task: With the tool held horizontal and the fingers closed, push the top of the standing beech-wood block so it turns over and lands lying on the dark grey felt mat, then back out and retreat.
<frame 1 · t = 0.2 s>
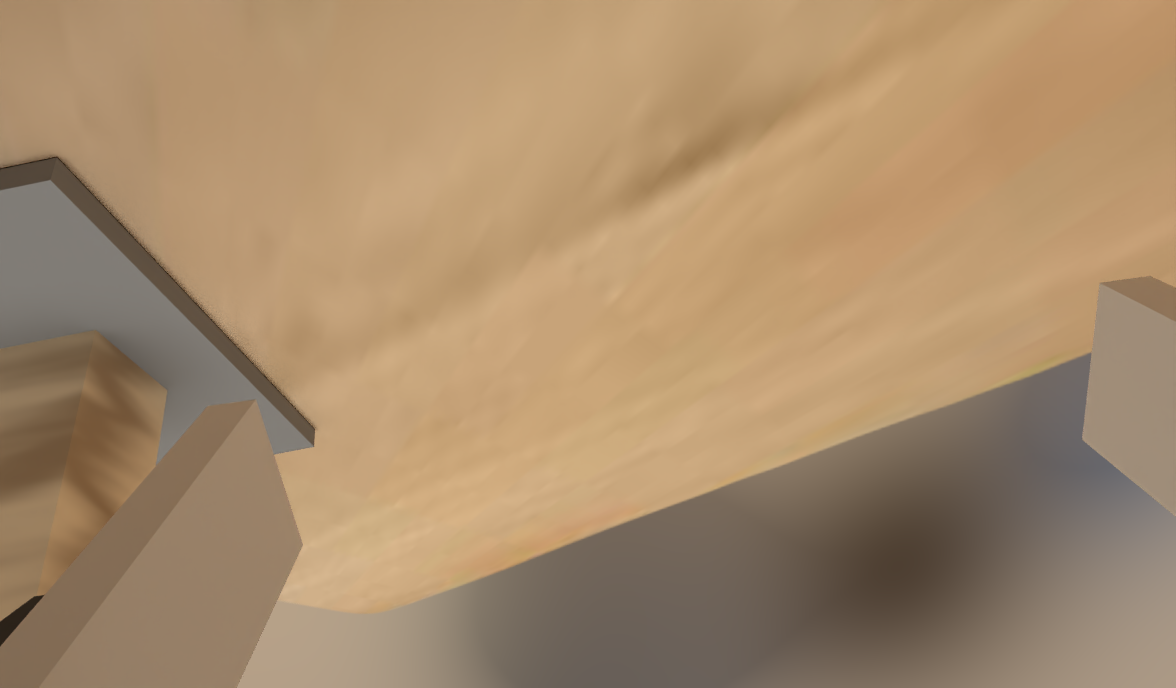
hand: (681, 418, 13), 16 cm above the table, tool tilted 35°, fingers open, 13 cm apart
beech block: (76, 373, 34), point 1 cm above the table, touching felt mat
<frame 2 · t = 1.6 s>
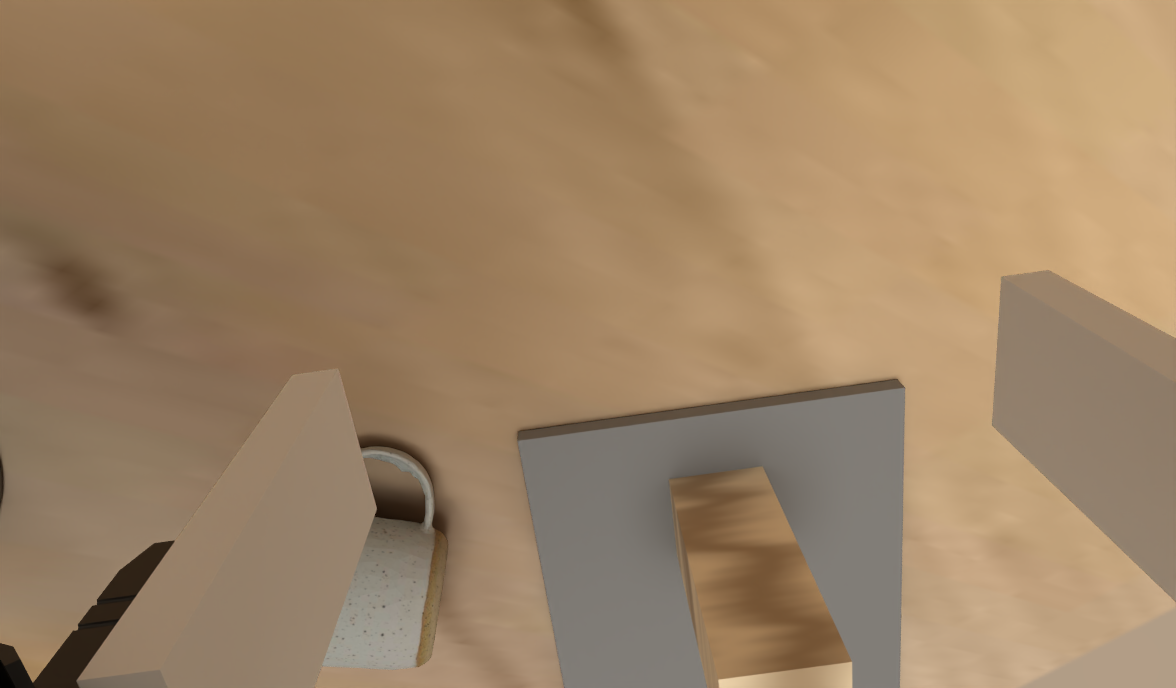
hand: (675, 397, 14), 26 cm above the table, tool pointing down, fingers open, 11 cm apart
felt mat: (721, 575, 47), on the table
ceramic mug: (373, 522, 45), on the table
beech block: (718, 512, 44), point 1 cm above the table, touching felt mat
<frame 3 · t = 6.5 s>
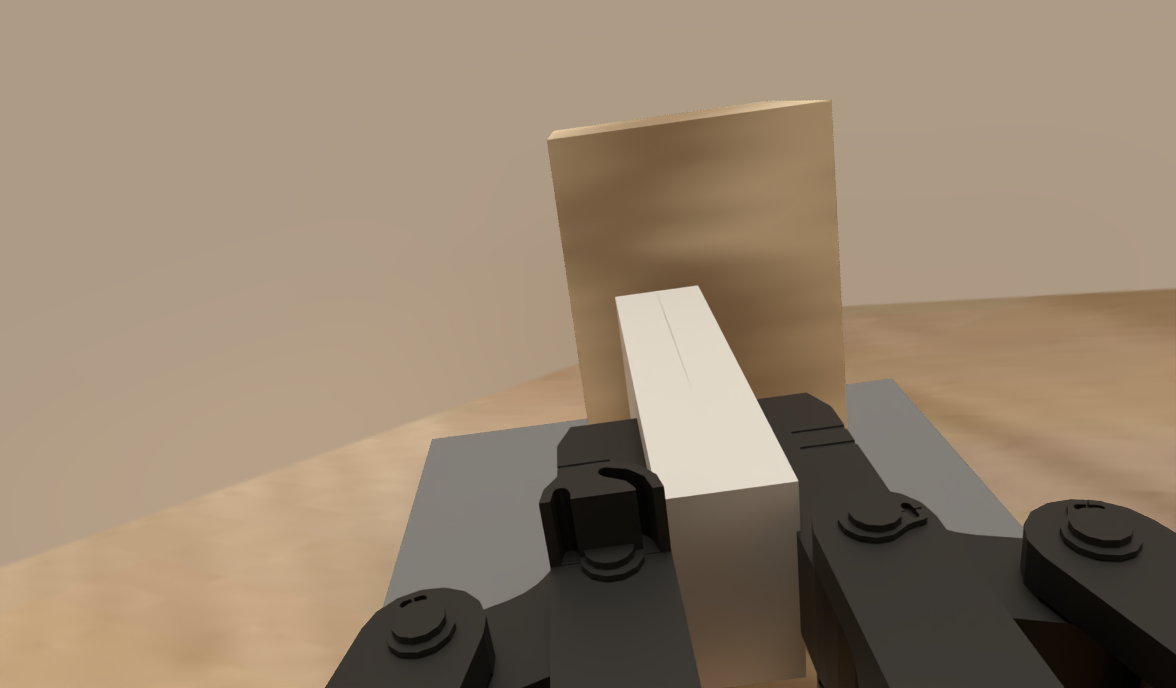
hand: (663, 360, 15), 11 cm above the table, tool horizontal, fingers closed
felt mat: (703, 597, 26), on the table
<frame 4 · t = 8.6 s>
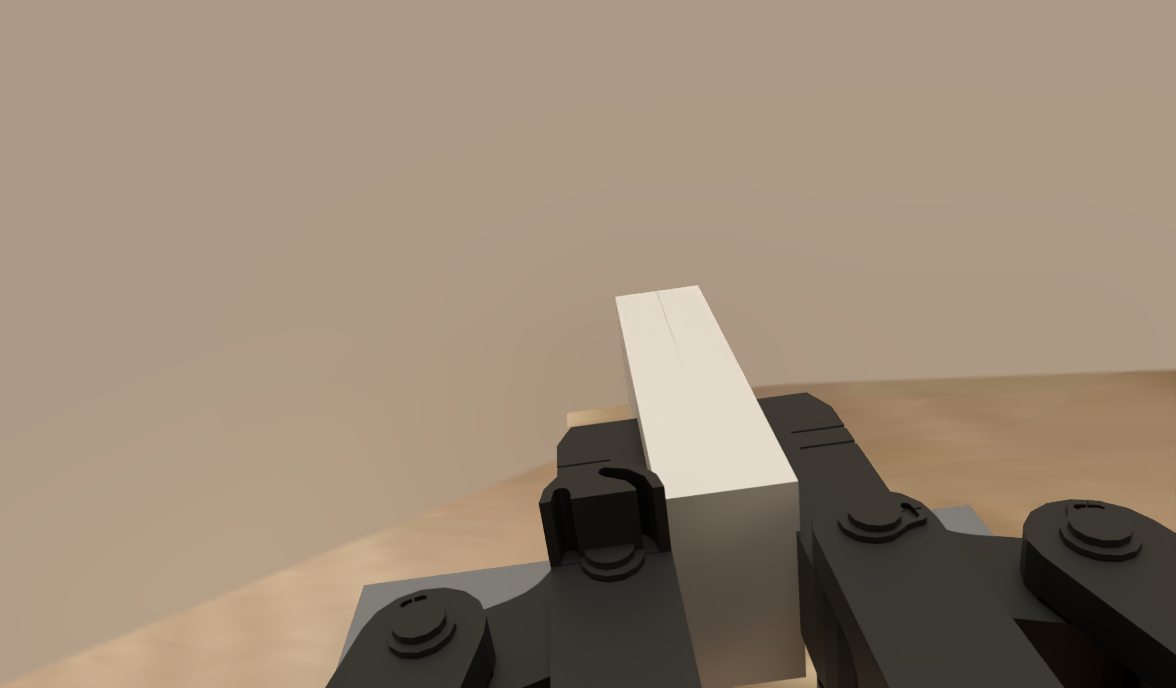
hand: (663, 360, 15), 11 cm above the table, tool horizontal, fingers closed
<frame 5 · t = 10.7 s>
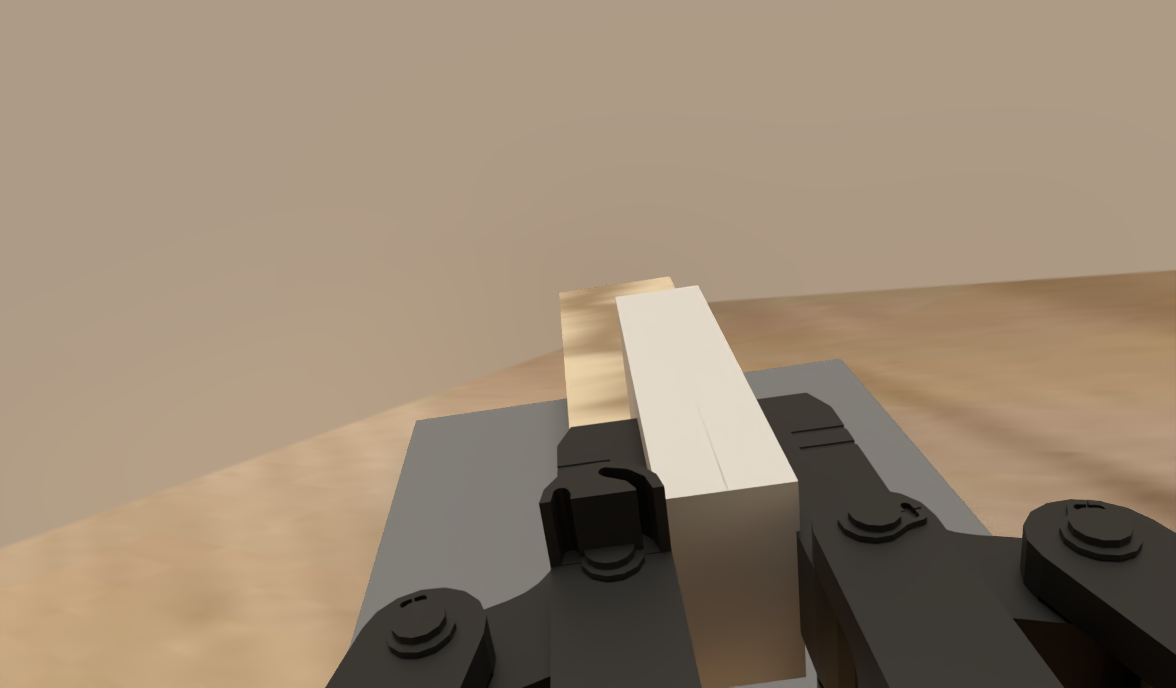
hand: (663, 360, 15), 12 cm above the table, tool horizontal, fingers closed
felt mat: (663, 551, 29), on the table
beech block: (663, 506, 25), point 3 cm above the table, tilted 90°, touching felt mat
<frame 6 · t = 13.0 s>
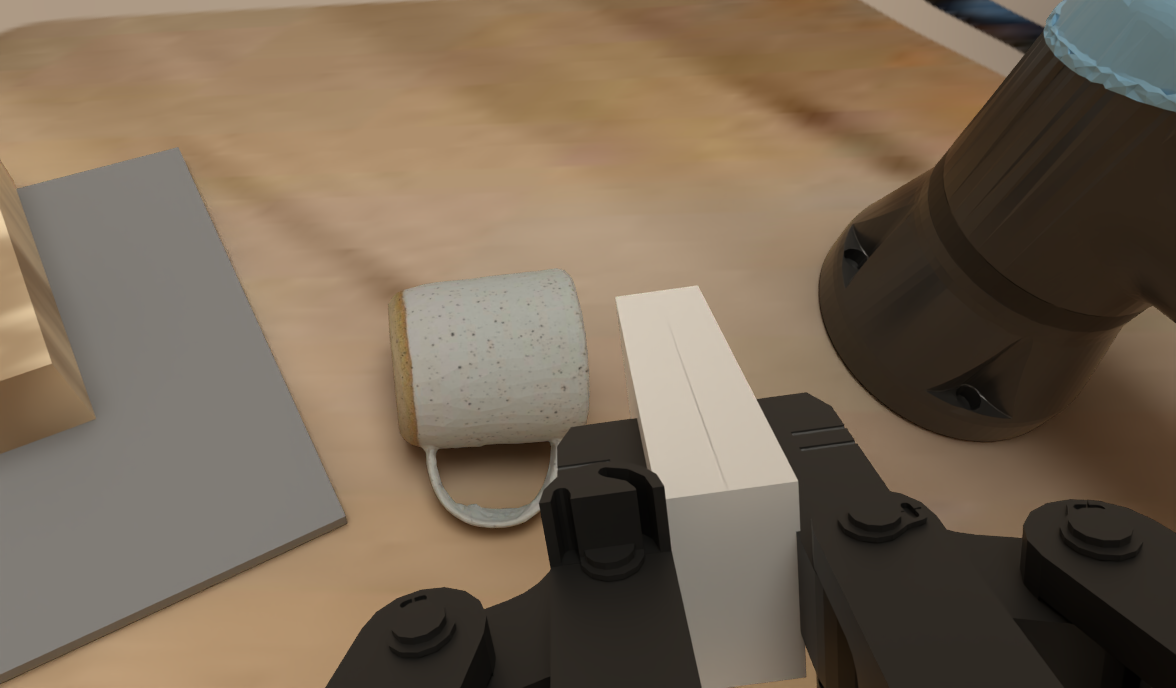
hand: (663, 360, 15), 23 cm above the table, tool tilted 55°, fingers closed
felt mat: (25, 405, 36), on the table
ceramic mug: (490, 423, 40), on the table
beech block: (5, 417, 32), point 3 cm above the table, tilted 90°, touching felt mat
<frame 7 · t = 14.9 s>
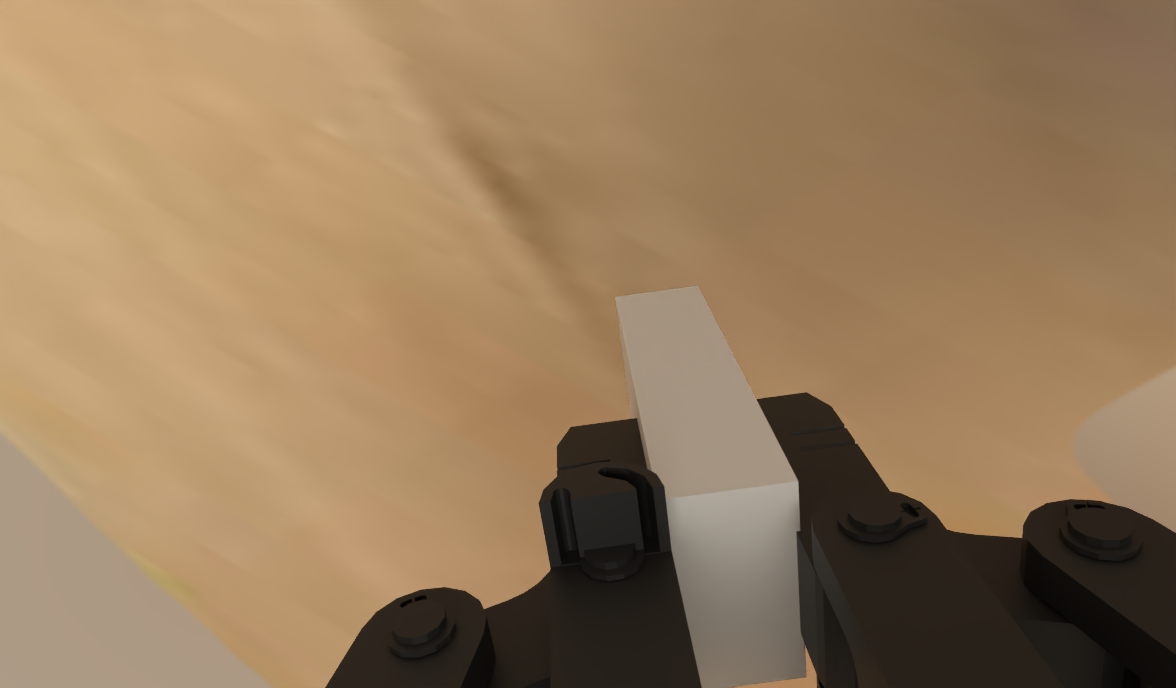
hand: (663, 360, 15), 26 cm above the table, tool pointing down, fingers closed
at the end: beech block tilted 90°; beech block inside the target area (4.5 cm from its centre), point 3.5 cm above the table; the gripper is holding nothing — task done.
